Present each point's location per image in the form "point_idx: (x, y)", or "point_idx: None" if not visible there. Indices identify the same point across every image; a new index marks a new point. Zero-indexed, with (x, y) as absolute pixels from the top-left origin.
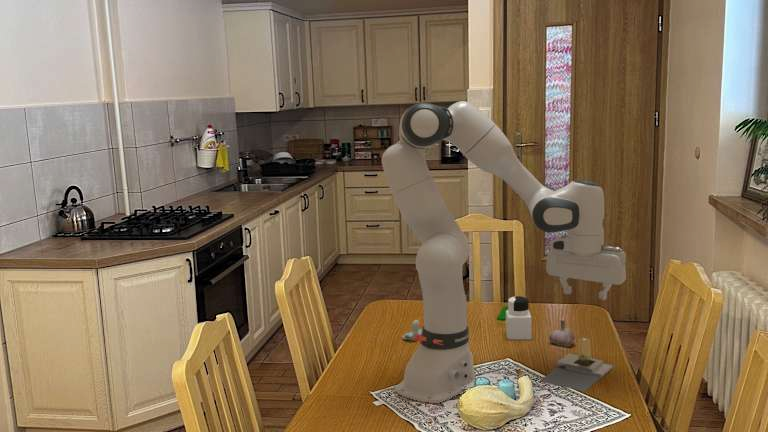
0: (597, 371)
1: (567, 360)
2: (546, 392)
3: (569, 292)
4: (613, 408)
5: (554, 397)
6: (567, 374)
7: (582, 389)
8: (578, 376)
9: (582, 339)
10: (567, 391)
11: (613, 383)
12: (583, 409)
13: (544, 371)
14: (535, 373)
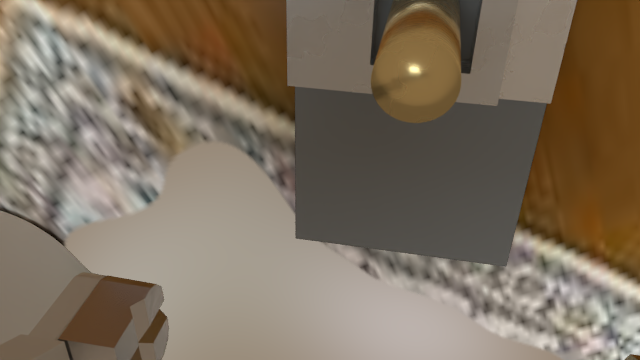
0: (521, 73)
1: (327, 39)
2: (349, 258)
3: (158, 346)
4: (636, 293)
5: (393, 284)
6: (375, 132)
7: (490, 253)
8: (432, 133)
9: (406, 100)
10: None
11: (609, 57)
12: (522, 331)
13: (241, 67)
14: (220, 108)
